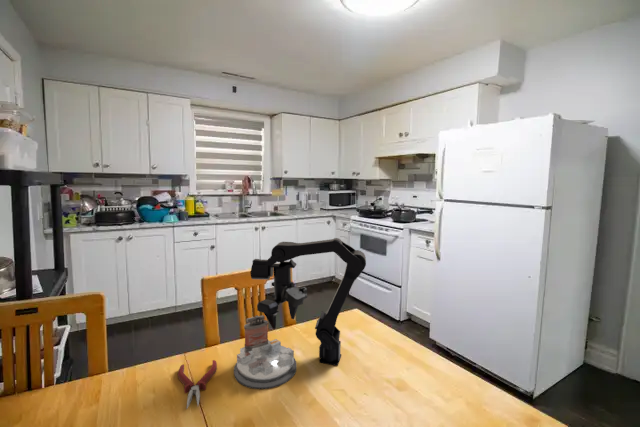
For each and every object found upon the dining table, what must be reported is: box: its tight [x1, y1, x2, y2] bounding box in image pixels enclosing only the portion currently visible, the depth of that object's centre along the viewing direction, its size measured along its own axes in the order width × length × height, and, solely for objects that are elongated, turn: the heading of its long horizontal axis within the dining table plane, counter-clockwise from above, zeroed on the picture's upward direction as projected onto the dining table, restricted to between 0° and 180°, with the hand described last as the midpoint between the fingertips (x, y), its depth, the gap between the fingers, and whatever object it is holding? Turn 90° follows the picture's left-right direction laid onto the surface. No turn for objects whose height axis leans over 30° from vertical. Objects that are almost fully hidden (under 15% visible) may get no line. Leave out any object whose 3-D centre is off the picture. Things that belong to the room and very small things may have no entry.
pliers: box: [177, 359, 218, 410], centre depth 94 cm, size 12×20×3 cm, turn 16°
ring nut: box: [236, 338, 295, 382], centre depth 102 cm, size 18×18×4 cm
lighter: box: [243, 315, 269, 349], centre depth 106 cm, size 8×3×10 cm, turn 121°
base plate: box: [233, 357, 298, 390], centre depth 103 cm, size 20×20×1 cm
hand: (283, 323), depth 109 cm, fingers open, 9 cm apart
